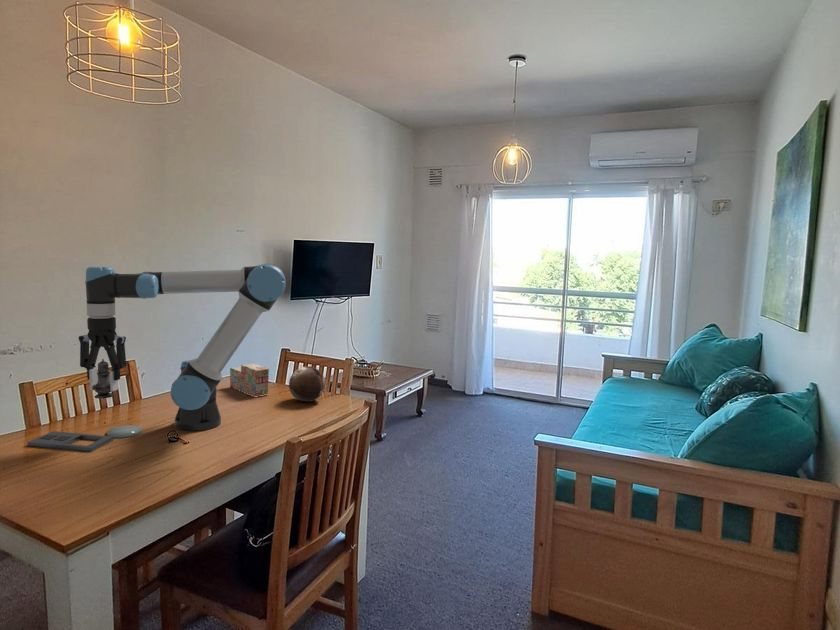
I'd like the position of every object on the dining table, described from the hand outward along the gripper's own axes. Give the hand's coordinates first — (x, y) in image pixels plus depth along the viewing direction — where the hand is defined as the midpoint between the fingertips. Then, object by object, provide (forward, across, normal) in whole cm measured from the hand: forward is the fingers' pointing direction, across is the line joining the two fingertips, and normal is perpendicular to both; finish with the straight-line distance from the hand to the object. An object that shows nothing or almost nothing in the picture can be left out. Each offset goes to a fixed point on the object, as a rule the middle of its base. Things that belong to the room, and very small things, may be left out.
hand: (104, 389), depth 161 cm
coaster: (+16, -2, -7) cm, 18 cm away
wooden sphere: (+19, -50, -58) cm, 79 cm away
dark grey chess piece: (+2, 0, 0) cm, 2 cm away
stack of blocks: (+18, -22, -66) cm, 72 cm away
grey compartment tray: (+16, +8, +5) cm, 18 cm away
